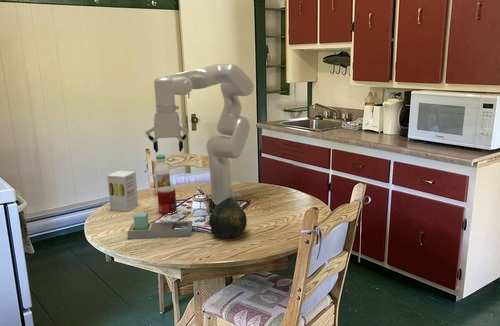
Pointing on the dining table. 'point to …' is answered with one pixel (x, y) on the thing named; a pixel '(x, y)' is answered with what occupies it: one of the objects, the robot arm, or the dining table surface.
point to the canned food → (166, 199)
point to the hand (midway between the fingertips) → (168, 151)
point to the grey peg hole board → (161, 230)
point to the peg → (141, 221)
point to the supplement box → (122, 191)
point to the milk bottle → (161, 173)
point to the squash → (228, 218)
